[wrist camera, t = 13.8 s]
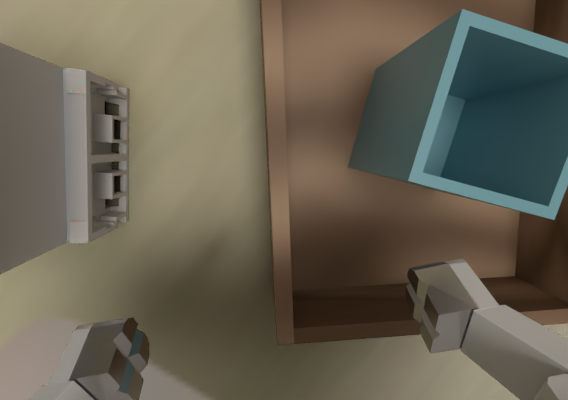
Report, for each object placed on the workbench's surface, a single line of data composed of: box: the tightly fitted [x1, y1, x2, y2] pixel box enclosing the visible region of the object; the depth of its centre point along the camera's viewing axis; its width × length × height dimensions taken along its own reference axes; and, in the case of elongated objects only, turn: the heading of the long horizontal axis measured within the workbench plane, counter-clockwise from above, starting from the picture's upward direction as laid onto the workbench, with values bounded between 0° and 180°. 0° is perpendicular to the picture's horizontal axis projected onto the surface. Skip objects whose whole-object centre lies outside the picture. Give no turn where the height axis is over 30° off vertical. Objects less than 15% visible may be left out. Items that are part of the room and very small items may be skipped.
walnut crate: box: [260, 0, 568, 345], centre depth 17 cm, size 20×16×5 cm
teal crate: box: [348, 9, 568, 220], centre depth 15 cm, size 6×6×8 cm
